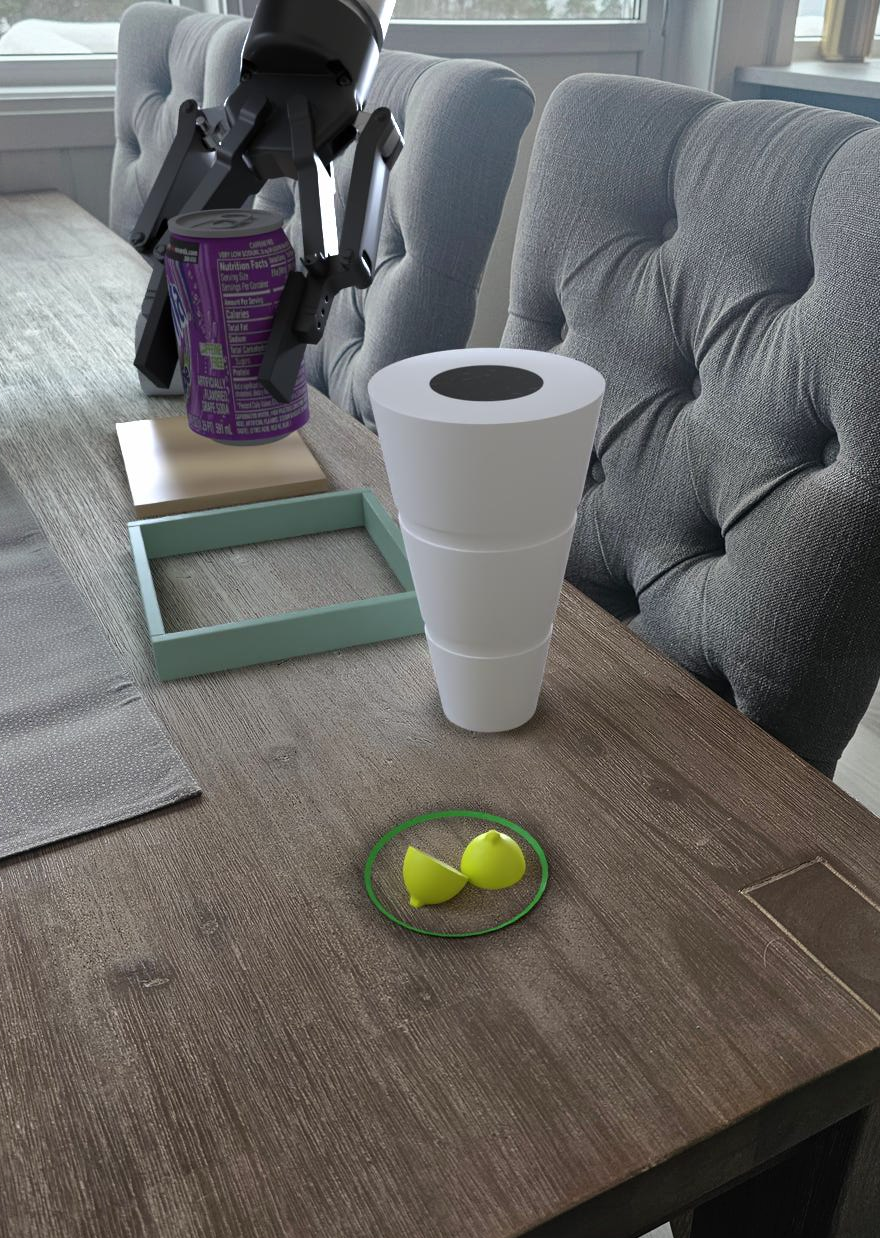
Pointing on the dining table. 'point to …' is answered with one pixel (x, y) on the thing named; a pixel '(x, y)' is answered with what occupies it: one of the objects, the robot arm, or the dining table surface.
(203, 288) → the beverage can
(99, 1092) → the dining table surface
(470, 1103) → the dining table surface
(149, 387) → the ceramic mug
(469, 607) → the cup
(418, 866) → the green round dish
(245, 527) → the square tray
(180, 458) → the birch board
